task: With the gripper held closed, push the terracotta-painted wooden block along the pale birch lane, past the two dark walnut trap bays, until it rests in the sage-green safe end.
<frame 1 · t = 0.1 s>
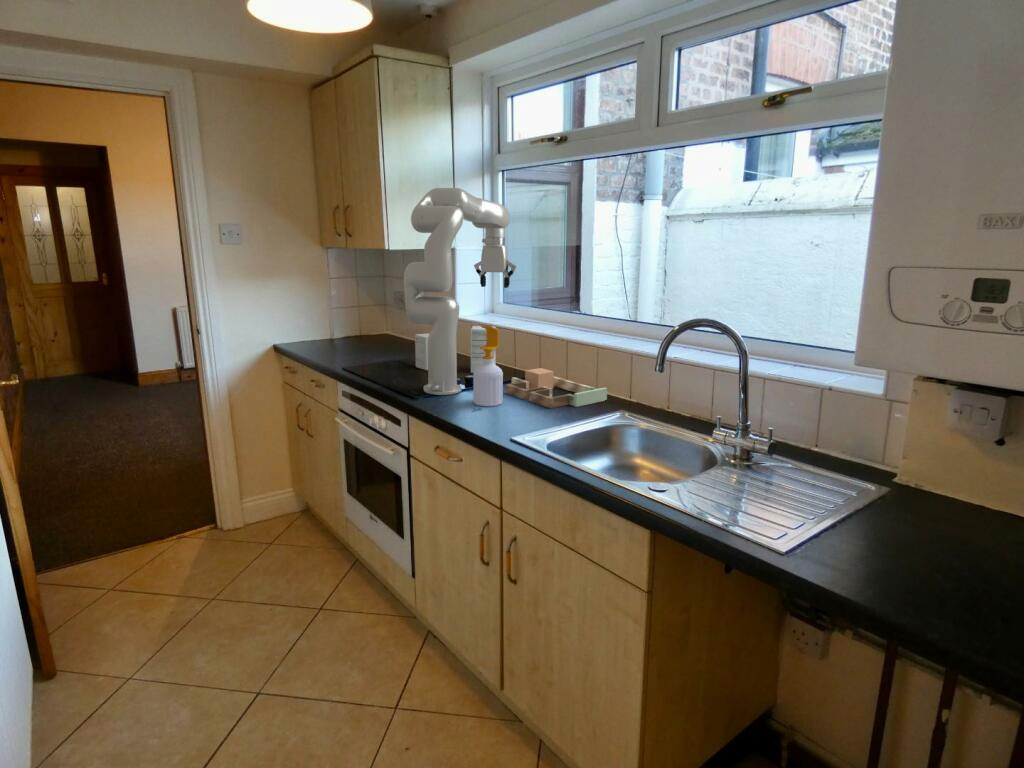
hand: (494, 287, 244), 31 cm above the worktop, fingers open, 9 cm apart
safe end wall: (590, 403, 198), on the worktop
supplement box: (483, 371, 242), on the worktop
soap bottle: (488, 403, 197), on the worktop
small box: (427, 368, 246), on the worktop
block: (539, 387, 217), on the worktop
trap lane: (556, 392, 210), on the worktop
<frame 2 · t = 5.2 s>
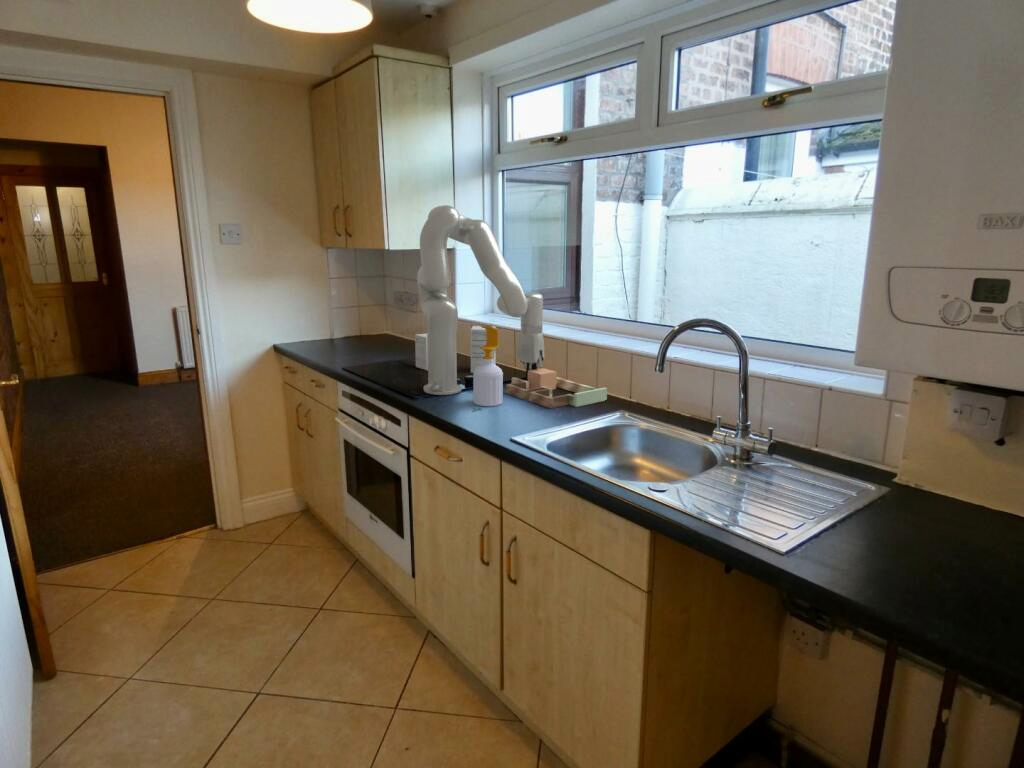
hand: (530, 380, 220), 1 cm above the worktop, fingers closed
block: (541, 388, 216), on the worktop, touching gripper
everything else where it was.
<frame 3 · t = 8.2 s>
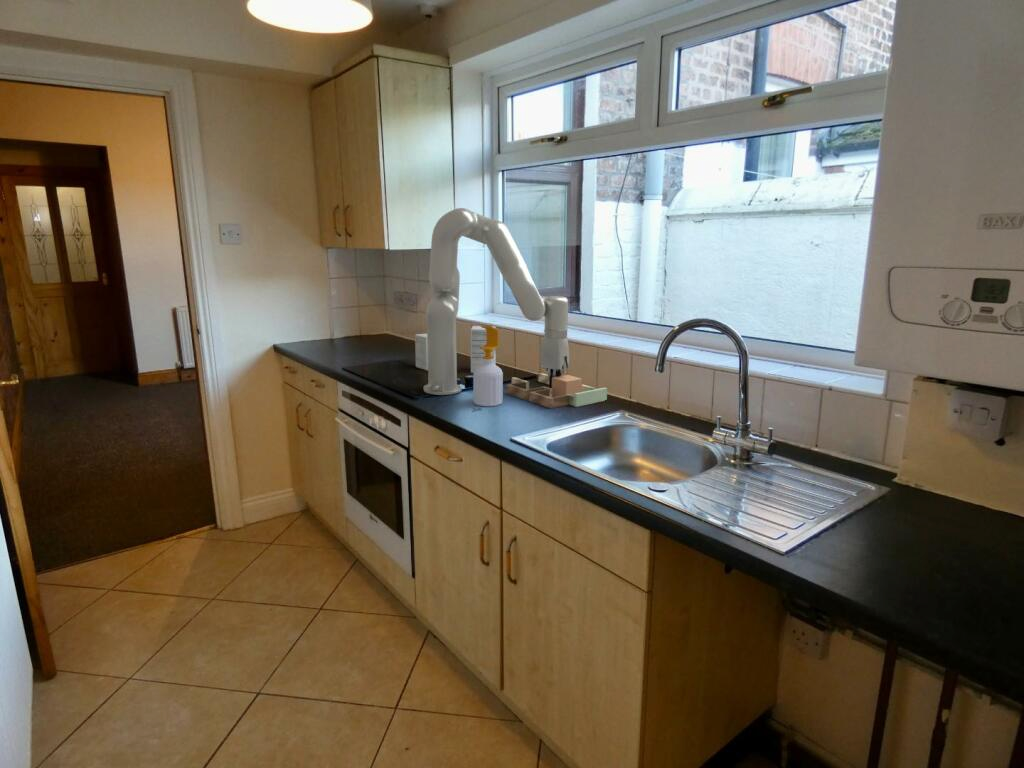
hand: (554, 387, 211), 1 cm above the worktop, fingers closed
block: (566, 395, 206), on the worktop, touching gripper
everything else where it was.
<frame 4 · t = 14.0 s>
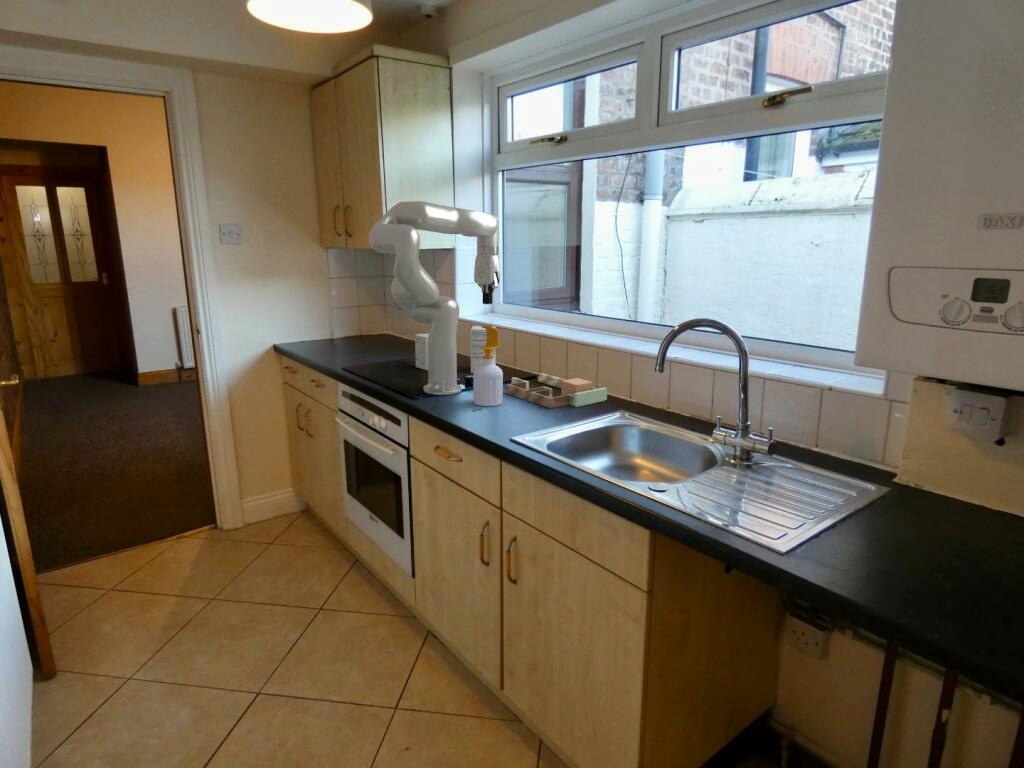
hand: (487, 303, 224), 27 cm above the worktop, fingers closed
block: (576, 399, 203), on the worktop
everything else where it was.
at the end: block 6.2 cm from the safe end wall (horizontally); block inside the target area (1.1 cm from its centre), on the worktop; block tilted 0° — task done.
